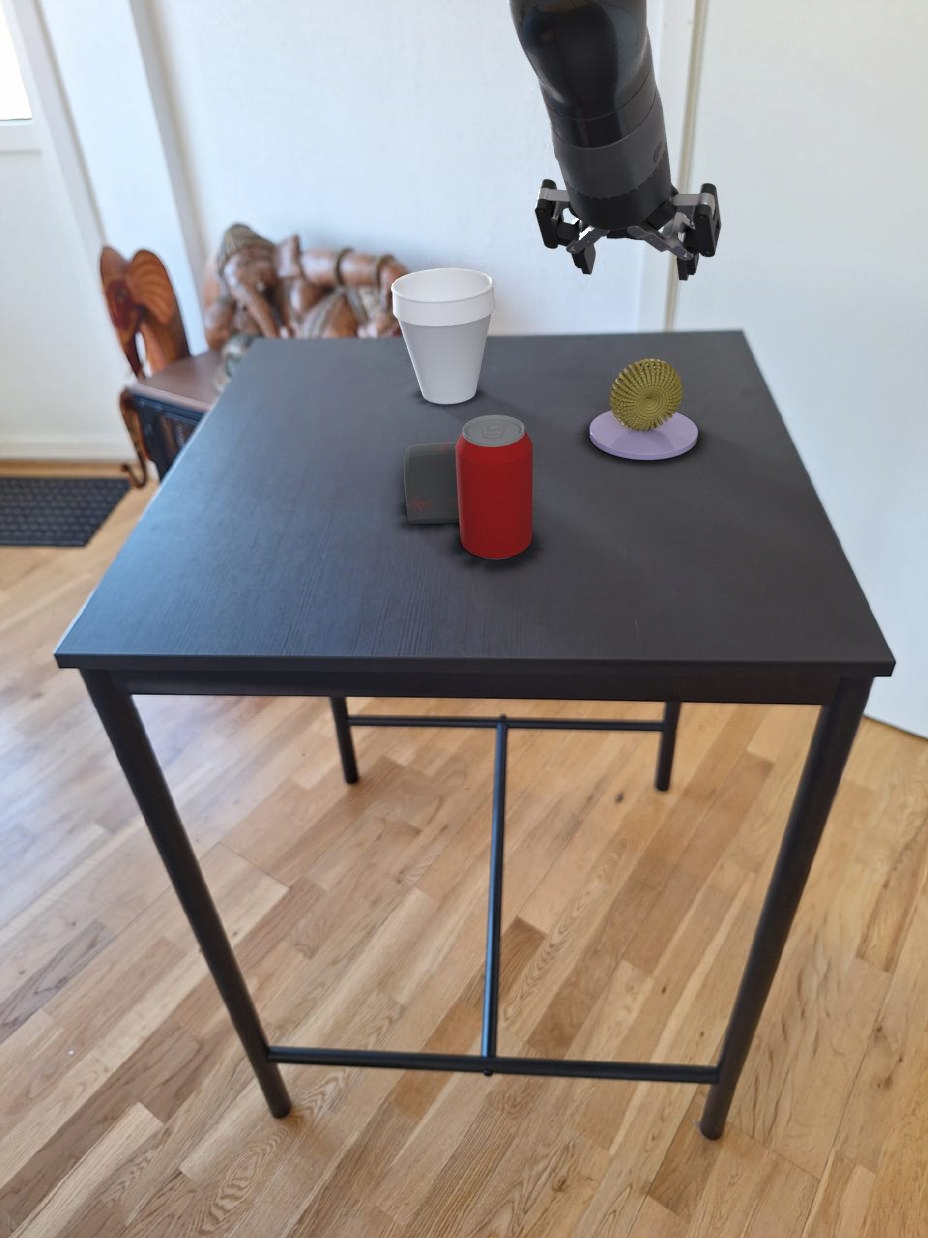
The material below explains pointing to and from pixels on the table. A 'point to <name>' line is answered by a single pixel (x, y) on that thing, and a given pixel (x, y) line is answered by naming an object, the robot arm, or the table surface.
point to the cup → (445, 328)
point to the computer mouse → (431, 483)
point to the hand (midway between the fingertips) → (636, 267)
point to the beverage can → (495, 486)
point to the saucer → (643, 437)
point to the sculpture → (646, 394)
